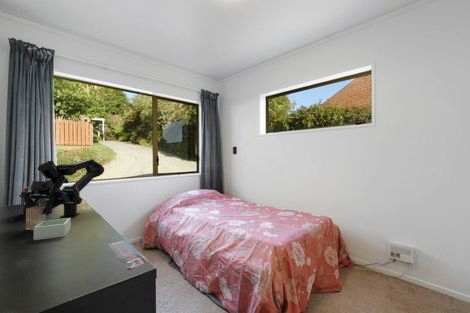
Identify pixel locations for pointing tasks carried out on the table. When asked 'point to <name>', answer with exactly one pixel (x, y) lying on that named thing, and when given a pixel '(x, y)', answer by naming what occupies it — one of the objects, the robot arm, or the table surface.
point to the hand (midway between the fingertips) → (33, 213)
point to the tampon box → (39, 203)
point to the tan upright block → (34, 217)
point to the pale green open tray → (52, 228)
